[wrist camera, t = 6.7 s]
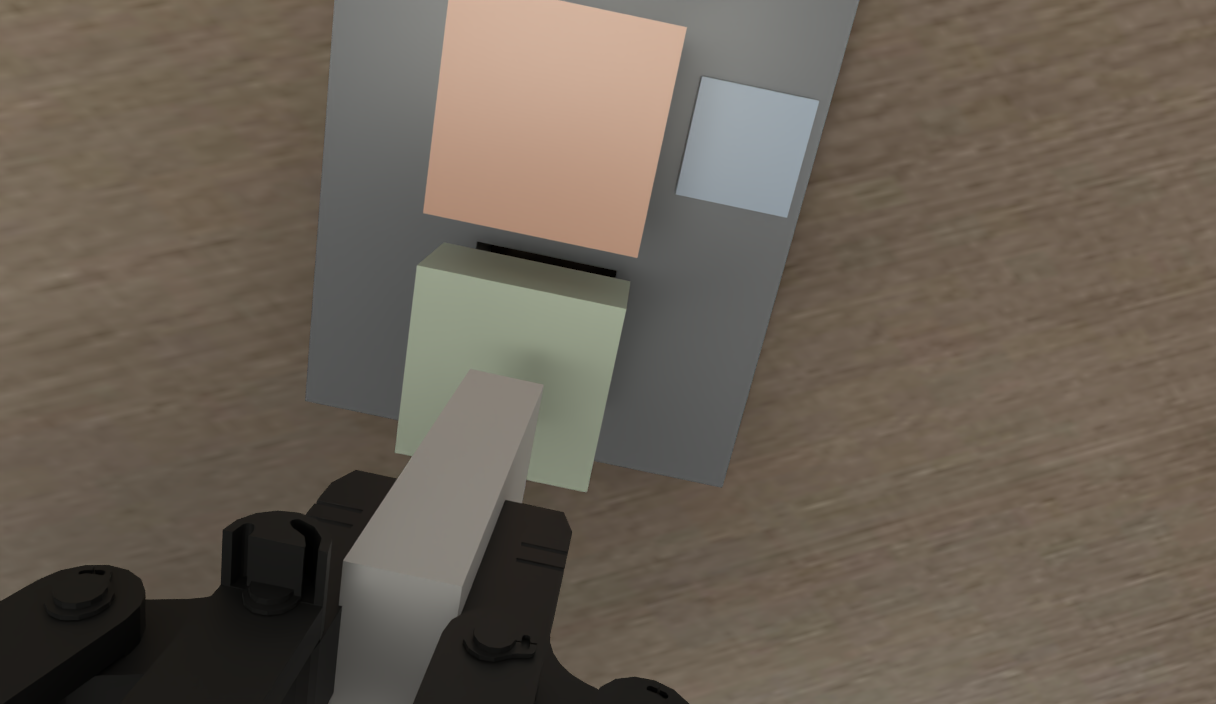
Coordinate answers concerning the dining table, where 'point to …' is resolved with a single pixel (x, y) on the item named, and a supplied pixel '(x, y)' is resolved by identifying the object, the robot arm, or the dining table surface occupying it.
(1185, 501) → the dining table surface
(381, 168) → the keypad
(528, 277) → the key sage
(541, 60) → the key terracotta
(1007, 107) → the dining table surface
